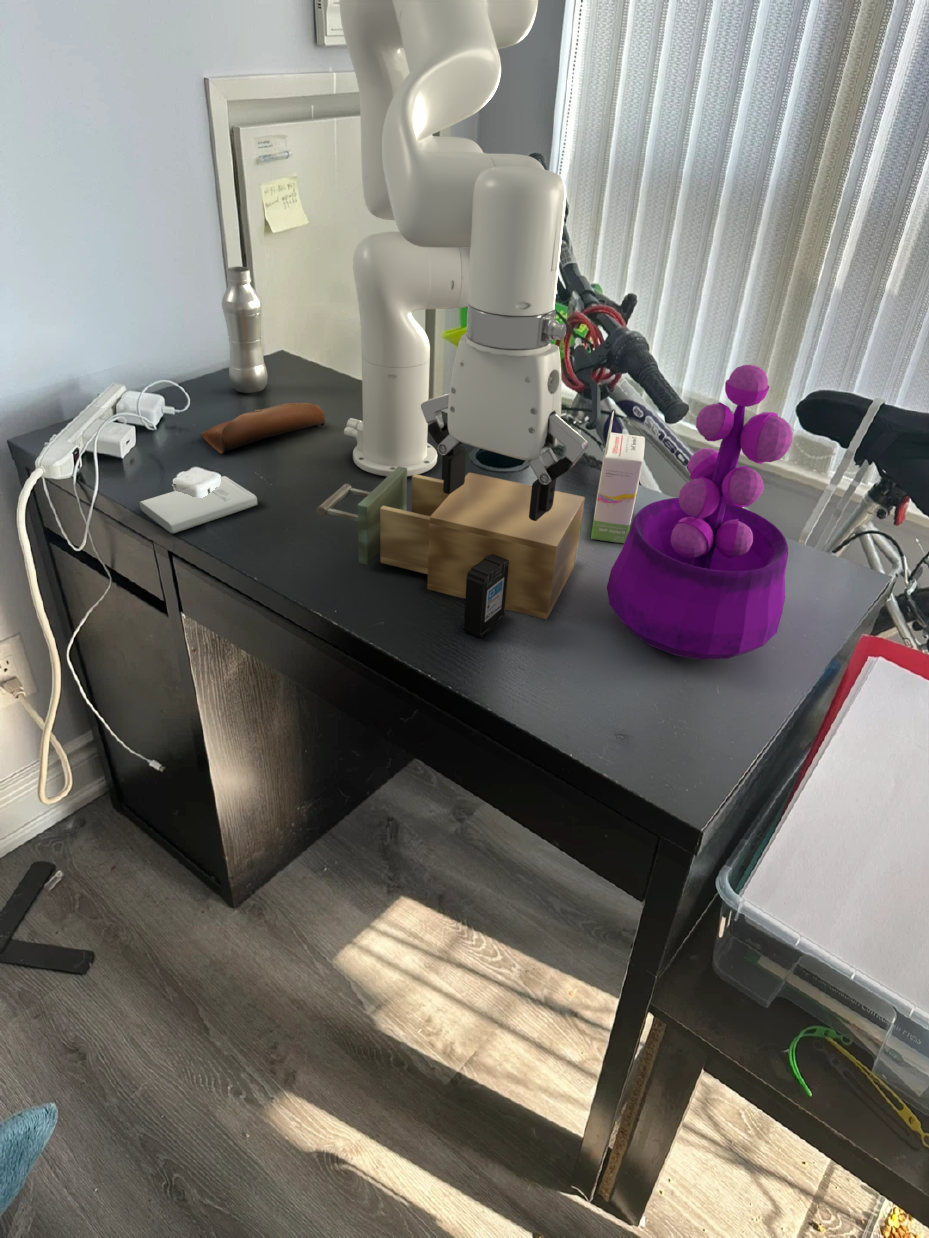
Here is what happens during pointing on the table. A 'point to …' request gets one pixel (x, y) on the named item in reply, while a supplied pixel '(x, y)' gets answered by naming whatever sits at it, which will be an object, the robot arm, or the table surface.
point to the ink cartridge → (485, 595)
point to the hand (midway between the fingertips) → (495, 501)
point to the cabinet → (505, 541)
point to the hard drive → (197, 506)
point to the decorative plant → (710, 542)
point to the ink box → (618, 486)
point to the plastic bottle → (244, 332)
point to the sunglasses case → (263, 425)
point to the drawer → (392, 519)
